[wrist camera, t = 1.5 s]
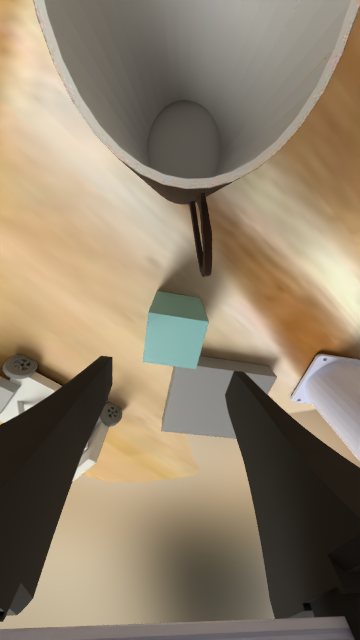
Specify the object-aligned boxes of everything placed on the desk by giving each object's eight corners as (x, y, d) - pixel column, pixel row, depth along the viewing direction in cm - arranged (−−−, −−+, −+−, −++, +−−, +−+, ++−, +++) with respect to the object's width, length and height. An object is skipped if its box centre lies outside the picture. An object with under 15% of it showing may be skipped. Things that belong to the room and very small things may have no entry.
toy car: (-158, 481, 15) (-142, 412, 11) (-33, 391, 24) (-3, 337, 20) (44, 533, 20) (97, 496, 17) (85, 443, 29) (125, 407, 26)
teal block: (199, 297, 18) (208, 321, 13) (190, 334, 20) (195, 369, 15) (157, 290, 18) (148, 312, 13) (152, 328, 20) (142, 361, 14)
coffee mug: (141, 46, 11) (-10, -782, 2) (260, 105, 12) (486, -262, 3) (114, 236, 16) (28, 231, 7) (202, 266, 17) (232, 296, 8)
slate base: (267, 363, 23) (277, 377, 20) (237, 422, 28) (242, 439, 25) (176, 350, 22) (176, 363, 19) (162, 414, 27) (161, 431, 24)
